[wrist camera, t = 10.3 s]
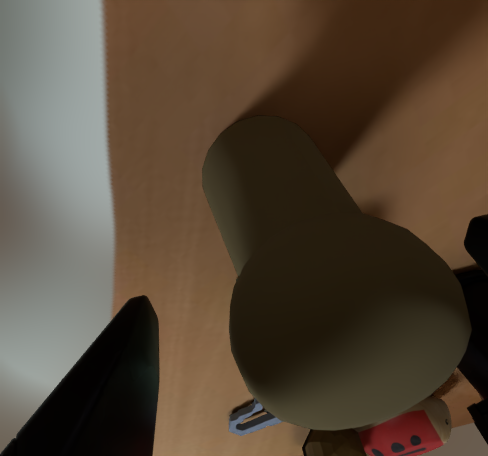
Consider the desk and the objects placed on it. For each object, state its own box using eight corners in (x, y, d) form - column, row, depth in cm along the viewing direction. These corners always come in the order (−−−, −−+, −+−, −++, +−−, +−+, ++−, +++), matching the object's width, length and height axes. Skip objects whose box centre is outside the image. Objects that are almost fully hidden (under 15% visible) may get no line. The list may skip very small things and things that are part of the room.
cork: (277, 243, 17) (378, 475, 8) (181, 202, 15) (159, 458, 5) (342, 153, 15) (598, 328, 5) (240, 88, 12) (375, 196, 3)
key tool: (210, 400, 25) (237, 430, 27) (210, 411, 24) (237, 440, 26) (338, 345, 24) (356, 381, 26) (342, 355, 23) (361, 391, 25)
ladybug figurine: (445, 405, 31) (470, 445, 28) (358, 435, 33) (372, 475, 30) (434, 382, 27) (461, 425, 24) (336, 417, 29) (351, 460, 26)
